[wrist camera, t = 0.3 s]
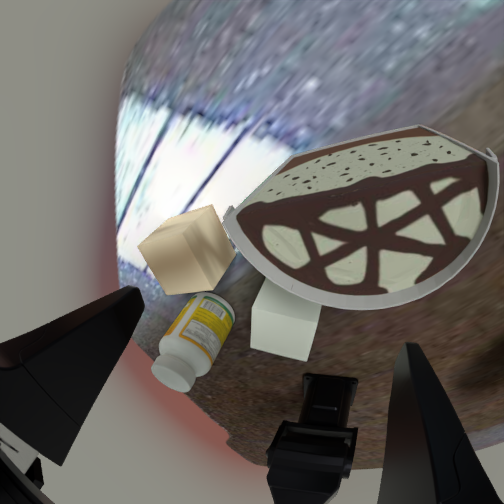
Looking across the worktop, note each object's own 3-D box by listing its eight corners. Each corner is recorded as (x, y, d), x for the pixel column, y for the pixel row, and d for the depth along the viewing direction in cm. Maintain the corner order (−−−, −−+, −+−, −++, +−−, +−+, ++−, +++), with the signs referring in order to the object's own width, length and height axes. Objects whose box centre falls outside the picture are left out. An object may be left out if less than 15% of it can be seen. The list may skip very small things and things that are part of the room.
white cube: (316, 320, 27) (306, 361, 23) (266, 309, 29) (250, 347, 25) (326, 281, 24) (317, 322, 21) (270, 268, 26) (252, 307, 22)
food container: (299, 235, 23) (263, 329, 15) (271, 161, 20) (211, 225, 12) (454, 204, 17) (504, 294, 9) (439, 120, 15) (509, 161, 7)
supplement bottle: (228, 290, 29) (182, 367, 21) (242, 328, 31) (206, 401, 24) (183, 289, 31) (134, 355, 23) (200, 325, 33) (160, 389, 26)
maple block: (236, 254, 26) (213, 289, 22) (193, 262, 28) (166, 295, 24) (212, 203, 24) (182, 233, 20) (169, 218, 26) (137, 246, 22)
